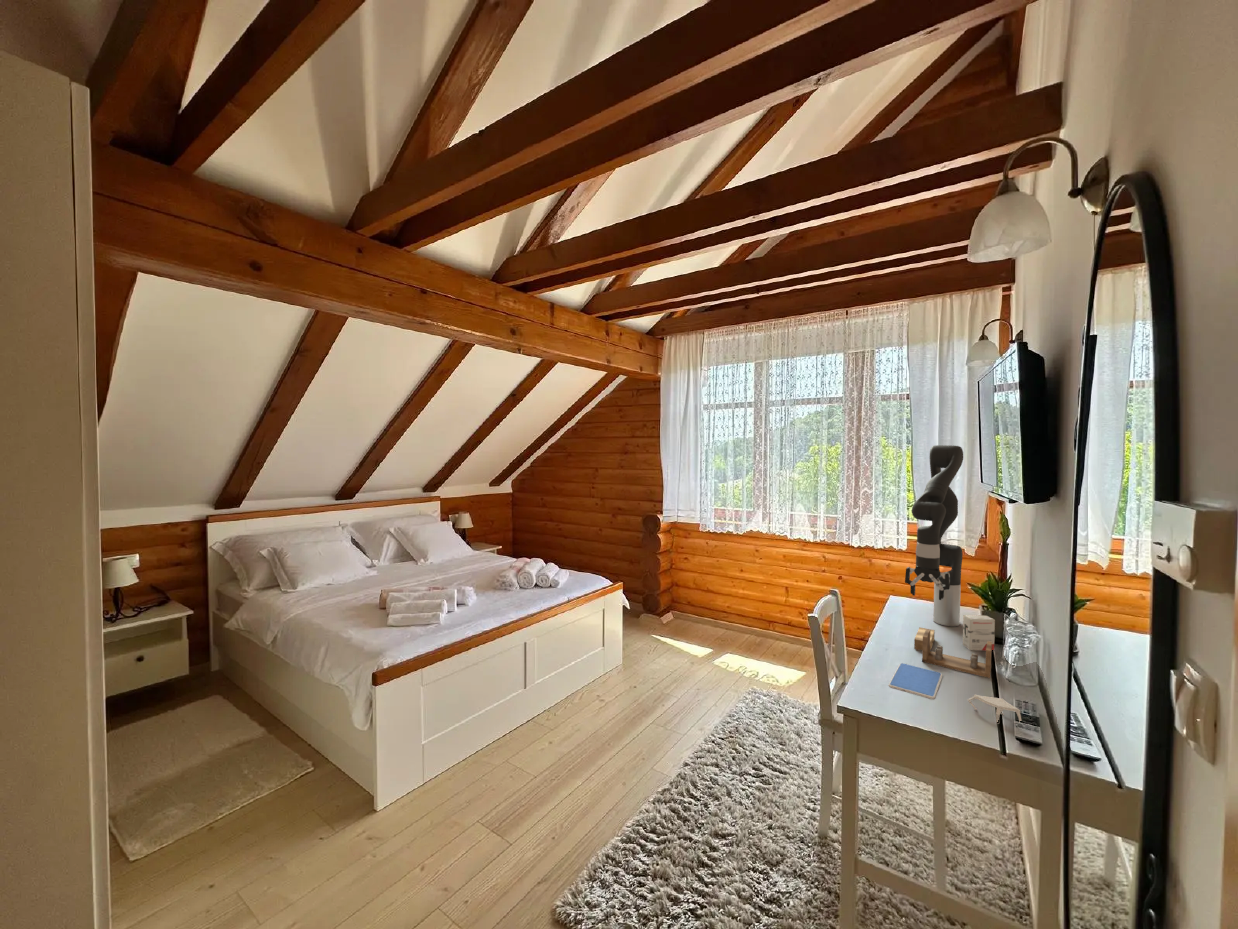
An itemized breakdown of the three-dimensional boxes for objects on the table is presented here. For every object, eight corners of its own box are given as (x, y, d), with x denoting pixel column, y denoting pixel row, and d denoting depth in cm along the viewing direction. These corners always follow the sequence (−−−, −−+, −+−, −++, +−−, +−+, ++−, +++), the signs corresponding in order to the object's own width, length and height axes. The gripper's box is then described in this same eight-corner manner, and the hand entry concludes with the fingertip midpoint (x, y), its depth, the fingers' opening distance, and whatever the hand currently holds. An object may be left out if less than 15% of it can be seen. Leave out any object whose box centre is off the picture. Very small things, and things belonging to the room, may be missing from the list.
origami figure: (1019, 717, 138) (1020, 700, 138) (1021, 731, 132) (1022, 713, 131) (967, 703, 146) (967, 687, 145) (967, 717, 139) (967, 700, 138)
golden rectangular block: (919, 637, 194) (919, 627, 194) (934, 640, 191) (934, 630, 191) (914, 649, 183) (914, 639, 183) (930, 653, 180) (930, 642, 180)
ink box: (986, 645, 185) (987, 614, 184) (994, 651, 180) (995, 619, 179) (961, 644, 186) (962, 614, 185) (969, 650, 181) (970, 619, 180)
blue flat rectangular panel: (934, 701, 148) (934, 697, 148) (887, 688, 156) (887, 684, 156) (942, 676, 163) (943, 673, 163) (899, 665, 171) (899, 662, 171)
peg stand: (925, 652, 179) (926, 628, 179) (991, 667, 167) (991, 642, 167) (922, 661, 172) (922, 636, 172) (989, 678, 160) (990, 651, 160)
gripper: (951, 555, 183) (950, 598, 184) (907, 550, 191) (906, 591, 193) (949, 559, 177) (948, 604, 178) (904, 554, 186) (903, 596, 187)
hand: (926, 597), depth 185 cm, fingers open, 8 cm apart
